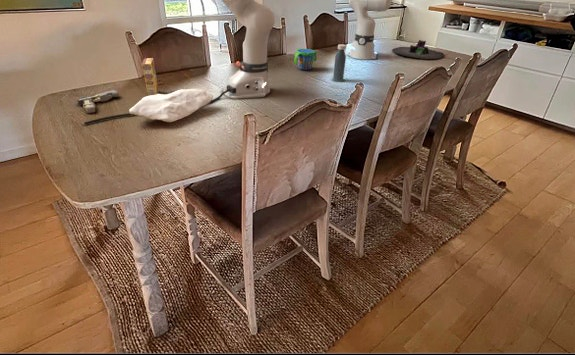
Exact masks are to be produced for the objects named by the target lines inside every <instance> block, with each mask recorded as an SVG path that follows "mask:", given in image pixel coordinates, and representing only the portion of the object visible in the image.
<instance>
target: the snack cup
mask: <svg viewBox="0 0 575 355" xmlns="http://www.w3.org/2000/svg"><path fill="white" fill-rule="evenodd" d="M317 56H318V55H317V52H316V50H314V49H310V48H298V49H296V53H295V55H294V58H293V64H294V65H297V66H298V69H299V70H301V71H309V70H312V67H313V63H314V62H316V61H317V58H318V57H317Z"/></svg>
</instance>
